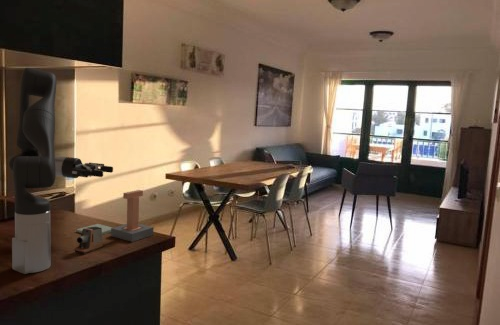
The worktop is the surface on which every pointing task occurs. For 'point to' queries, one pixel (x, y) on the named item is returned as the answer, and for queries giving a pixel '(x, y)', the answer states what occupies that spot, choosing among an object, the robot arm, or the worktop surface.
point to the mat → (104, 228)
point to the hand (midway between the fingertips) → (107, 171)
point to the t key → (132, 209)
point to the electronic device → (89, 240)
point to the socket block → (132, 232)
